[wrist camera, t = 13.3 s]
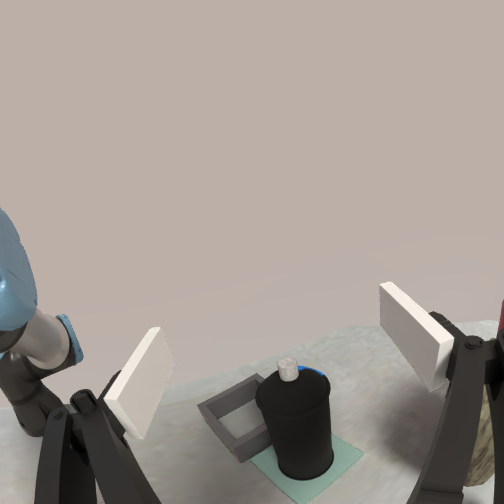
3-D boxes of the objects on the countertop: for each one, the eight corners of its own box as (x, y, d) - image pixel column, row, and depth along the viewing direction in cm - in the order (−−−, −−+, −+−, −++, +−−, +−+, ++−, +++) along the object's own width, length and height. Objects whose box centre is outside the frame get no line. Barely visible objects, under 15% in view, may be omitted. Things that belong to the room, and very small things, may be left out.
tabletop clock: (465, 417, 26) (504, 270, 20) (506, 434, 18) (566, 282, 12) (412, 485, 20) (466, 342, 14) (458, 510, 12) (563, 370, 6)
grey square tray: (205, 420, 43) (197, 404, 42) (261, 389, 49) (256, 373, 48) (240, 463, 32) (233, 448, 31) (304, 421, 39) (302, 404, 38)
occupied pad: (250, 460, 33) (249, 458, 32) (309, 420, 38) (309, 418, 38) (300, 507, 22) (300, 506, 22) (363, 454, 28) (364, 452, 28)
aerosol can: (325, 484, 25) (316, 393, 20) (269, 475, 29) (231, 383, 24) (340, 441, 32) (334, 339, 27) (289, 435, 36) (264, 337, 31)
